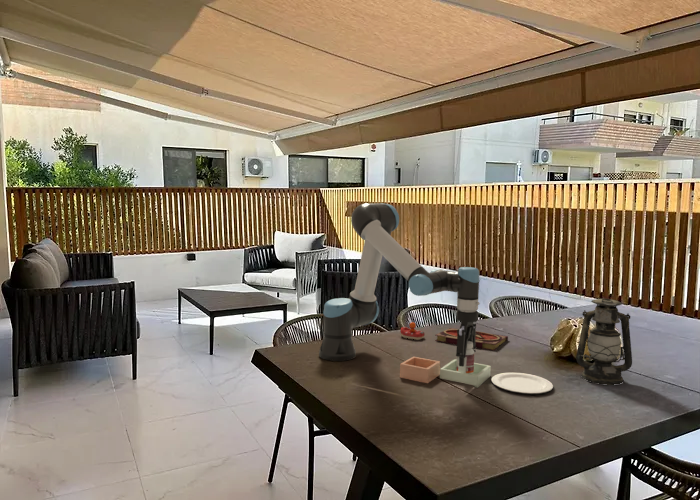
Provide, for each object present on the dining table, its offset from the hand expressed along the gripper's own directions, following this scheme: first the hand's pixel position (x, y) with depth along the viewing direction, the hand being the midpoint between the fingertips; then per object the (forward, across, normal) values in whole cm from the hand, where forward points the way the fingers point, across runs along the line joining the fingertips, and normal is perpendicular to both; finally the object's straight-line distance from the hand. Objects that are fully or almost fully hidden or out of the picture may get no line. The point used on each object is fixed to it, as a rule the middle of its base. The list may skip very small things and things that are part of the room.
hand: (465, 371), depth 192 cm
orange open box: (+2, -9, +14) cm, 17 cm away
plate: (+3, +4, -19) cm, 20 cm away
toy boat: (+3, +40, +41) cm, 58 cm away
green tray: (+2, 0, 0) cm, 2 cm away
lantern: (+3, +26, -43) cm, 50 cm away
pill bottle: (+1, 0, 0) cm, 1 cm away
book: (+3, +51, +16) cm, 54 cm away
